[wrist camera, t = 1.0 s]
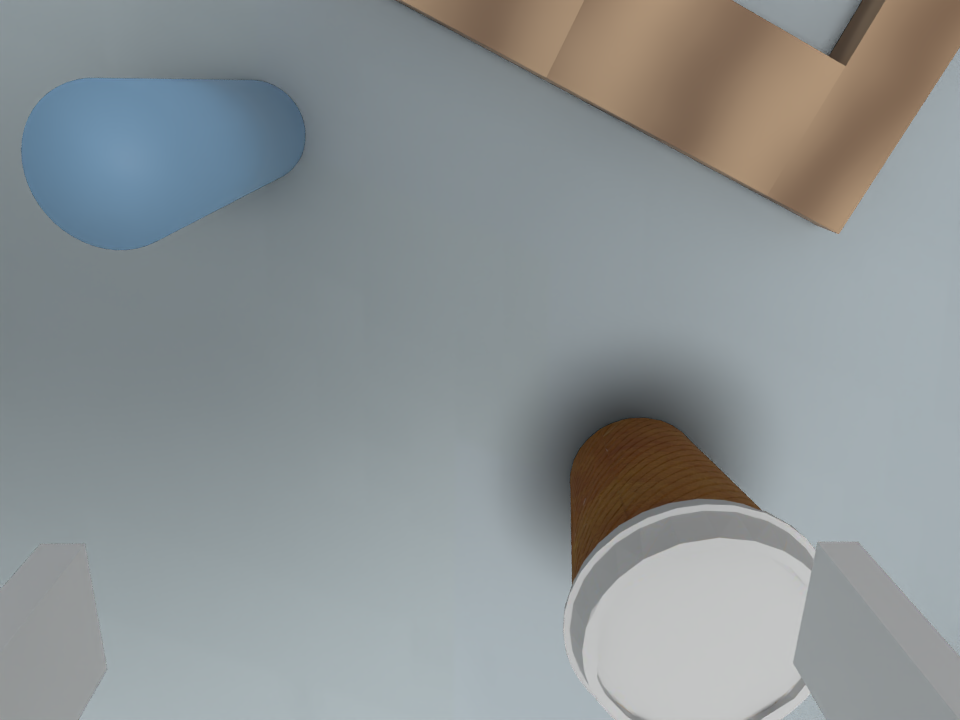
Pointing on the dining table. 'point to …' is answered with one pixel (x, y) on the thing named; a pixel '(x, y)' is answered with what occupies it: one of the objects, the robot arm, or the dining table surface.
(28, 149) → the peg
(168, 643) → the dining table surface
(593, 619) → the disposable coffee cup
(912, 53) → the keyhole board
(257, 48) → the dining table surface
